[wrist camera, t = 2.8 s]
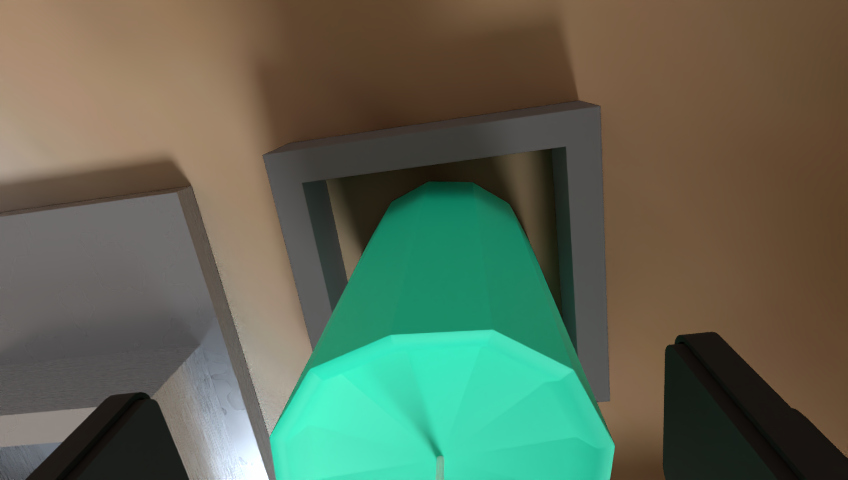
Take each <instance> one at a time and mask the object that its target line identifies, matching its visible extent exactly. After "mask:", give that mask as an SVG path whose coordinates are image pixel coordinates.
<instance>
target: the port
mask: <svg viewBox="0 0 848 480" xmlns="http://www.w3.org/2000/svg"><path fill="white" fill-rule="evenodd" d="M135 392H144V393H146V394H148V395H149V396H150V398H151V399H154V400H156V401H157V402H158V404H159V406H160V408H161V411H162V413H163V416H164V418H165V421H166V423H167V426H168V428H169V431H170V433H171V435H172V438H173V440H174V443H175V445H176V448H177V450H178V453H179V455H180V458H181V460H182V462H183V465H184V467H185V470H186V472H187V475H188V477H189V480H276V476H275V470H274V463H273V457H272V451H271V444H270V439H269V436H268V433H267V429H266V426H265V423H264V420H263V417H262V413H261V410H260V407H259V404H258V400H257V397H256V394H255V391H254V387H253V384H252V381H251V378H250V374H249V371H248V368H247V365H246V361H245V358H244V355H243V352H242V348H241V345H240V342H239V339H238V335H237V332H236V329H235V326H234V322H233V319H232V316H231V313H230V310H229V306H228V303H227V300H226V297H225V293H224V290H223V287H222V284H221V280H220V277H219V274H218V271H217V267H216V264H215V261H214V258H213V254H212V251H211V248H210V245H209V241H208V238H207V235H206V232H205V228H204V225H203V222H202V219H201V215H200V212H199V209H198V206H197V202H196V199H195V196H194V193H193V190H192V186H187V187H179V188H172V189H165V190H158V191H151V192H144V193H137V194H130V195H123V196H115V197H108V198H101V199H94V200H87V201H80V202H73V203H66V204H58V205H51V206H44V207H37V208H30V209H23V210H16V211H9V212H2V213H0V480H25V479H26V478H27V477H28V476H29V475H30V474H31V473H32V472H33V471H34V470H35V469H36V468H37V467H38V466H39V465H40V464H41V463H42V462H43V461H44V460H45V459H46V458H47V457H48V456H49V455H50V454H51V453H52V452H53V451H54V450H55V449H56V448H57V447H58V446H59V445H60V444H61V443H62V442H63V441H64V440H65V439H66V438H67V437H68V436H69V435H70V434H71V433H72V432H73V431H74V430H75V429H76V428H77V427H78V426H79V425H80V424H81V423H82V422H83V421H84V420H85V419H86V418H87V417H88V416H89V415H90V414H91V413H92V412H93V411H94V410H95V409H96V408H97V407H98V406H99V405H100V404H101V403H102V402H103V401H104V400H105V399H106V398H108V397H109V396H112V395H116V394H126V393H135Z"/></svg>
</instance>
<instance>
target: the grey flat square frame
mask: <svg viewBox="0 0 848 480" xmlns="http://www.w3.org/2000/svg"><path fill="white" fill-rule="evenodd" d="M543 149H551V150H552V165H553V180H554V195H555V211H556V226H557V241H558V256H559V272H560V287H561V302H562V317H563V323H564V325H565V328H566V330H567V332H568V335H569V337H570V340H571V342H572V344H573V347H574V349H575V352H576V354H577V356H578V359H579V361H580V363H581V366H582V368H583V371H584V373H585V375H586V378H587V380H588V383H589V385H590V387H591V390H592V392H593V394H594V397H595V399H596V402H606V401H610V387H609V357H608V326H607V296H606V265H605V235H604V204H603V174H602V144H601V113H600V106H598V105H594V104H591V103H587V102H583V101H573V102H566V103H559V104H552V105H546V106H539V107H532V108H525V109H518V110H512V111H505V112H498V113H491V114H485V115H478V116H471V117H464V118H457V119H451V120H444V121H437V122H430V123H423V124H417V125H410V126H403V127H396V128H389V129H383V130H376V131H369V132H362V133H355V134H349V135H342V136H335V137H328V138H322V139H315V140H308V141H301V142H294V143H289V144H286V145H284V146H282V147H280V148H277V149H275V150H273V151H271V152H268V153H266V154H264V155H263V159H264V162H265V166H266V170H267V174H268V178H269V182H270V186H271V190H272V194H273V198H274V202H275V206H276V209H277V213H278V217H279V221H280V225H281V229H282V233H283V237H284V241H285V245H286V249H287V253H288V256H289V260H290V264H291V268H292V272H293V276H294V280H295V284H296V288H297V292H298V296H299V300H300V303H301V307H302V311H303V315H304V319H305V323H306V327H307V331H308V335H309V339H310V343H311V346H312V350H313V351H314V349H315V347H316V345H317V343H318V341H319V339H320V337H321V335H322V333H323V331H324V329H325V327H326V325H327V323H328V321H329V319H330V317H331V315H332V313H333V311H334V309H335V307H336V305H337V303H338V301H339V299H340V297H341V295H342V294H343V292H344V290H345V288H346V286H347V284H348V281H347V277H346V272H345V268H344V263H343V258H342V254H341V249H340V245H339V240H338V236H337V231H336V226H335V222H334V217H333V213H332V208H331V203H330V199H329V194H328V190H327V185H326V179H333V178H340V177H347V176H355V175H362V174H369V173H376V172H384V171H391V170H398V169H406V168H413V167H420V166H427V165H435V164H442V163H449V162H456V161H464V160H471V159H478V158H485V157H493V156H500V155H507V154H514V153H522V152H529V151H536V150H543Z"/></svg>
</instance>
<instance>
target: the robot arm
mask: <svg viewBox="0 0 848 480" xmlns="http://www.w3.org/2000/svg"><path fill="white" fill-rule="evenodd" d="M663 470H664V475H665V479H666V480H848V458H847V457H845V456H844V455H843V454H842V453H841V452H840V451H839V450H838V449H837V448H836V447H835V446H834V445H833V444H832V443H831V442H830V441H829V440H828V439H827V438H826V437H825V436H824V435H823V434H822V433H821V432H820V431H819V430H818V429H817V428H816V427H815V426H814V425H813V424H812V423H811V422H810V421H809V420H808V419H807V418H806V417H805V416H804V415H803V414H801V413H800V412H799V411H798V410H796V409H793V408H791V407H790V406H789V405H788V404H787V403H786V402H785V401H784V400H783V399H782V398H781V397H780V396H779V395H778V394H777V393H776V392H775V391H774V390H773V389H772V388H771V387H770V386H769V385H768V384H767V383H766V382H765V381H764V380H763V379H762V378H761V377H760V376H759V375H758V374H757V373H756V372H755V371H754V370H753V369H752V368H751V367H750V366H749V365H748V364H747V363H746V362H745V361H744V360H743V359H742V358H741V357H740V356H739V355H738V354H737V353H736V352H735V351H734V350H733V349H732V348H731V347H730V346H729V345H728V344H727V343H726V342H725V341H724V340H723V339H722V338H721V337H720V336H719V335H718V334H717V333H715V332H705V333H696V334H686V335H679V336H677V338H676V340H675V344H673V345H668V346H667V347H666V350H665V385H664V435H663ZM25 480H189V477H188V475H187V472H186V470H185V467H184V465H183V462H182V460H181V458H180V455H179V453H178V450H177V448H176V445H175V443H174V440H173V438H172V435H171V433H170V431H169V428H168V426H167V423H166V421H165V418H164V416H163V413H162V411H161V408H160V406H159V404H158V402H157V401H156V400H154V399H151V398H150V396H149V395H148V394H146V393H144V392H135V393H126V394H116V395H112V396H109V397H108V398H106V399H105V400H104V401H103V402H102V403H101V404H100V405H99V406H98V407H97V408H96V409H95V410H94V411H93V412H92V413H91V414H90V415H89V416H88V417H87V418H86V419H85V420H84V421H83V422H82V423H81V424H80V425H79V426H78V427H77V428H76V429H75V430H74V431H73V432H72V433H71V434H70V435H69V436H68V437H67V438H66V439H65V440H64V441H63V442H62V443H61V444H60V445H59V446H58V447H57V448H56V449H55V450H54V451H53V452H52V453H51V454H50V455H49V456H48V457H47V458H46V459H45V460H44V461H43V462H42V463H41V464H40V465H39V466H38V467H37V468H36V469H35V470H34V471H33V472H32V473H31V474H30V475H29V476H28V477H27V478H26V479H25Z"/></svg>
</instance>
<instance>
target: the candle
mask: <svg viewBox="0 0 848 480" xmlns="http://www.w3.org/2000/svg"><path fill="white" fill-rule="evenodd" d="M269 438H270V444H271V451H272V457H273V463H274V470H275V476H276V480H610V476H611V469H612V463H613V456H614V449H615V445H614V442H613V440H612V437H611V435H610V433H609V430H608V428H607V425H606V423H605V421H604V418H603V416H602V414H601V411H600V409H599V406H598V404H597V402H596V399H595V397H594V394H593V392H592V390H591V387H590V385H589V383H588V380H587V378H586V375H585V373H584V371H583V368H582V366H581V363H580V361H579V359H578V356H577V354H576V352H575V349H574V347H573V344H572V342H571V340H570V337H569V335H568V332H567V330H566V328H565V325H564V323H563V321H562V318H561V316H560V313H559V311H558V309H557V306H556V304H555V301H554V299H553V297H552V294H551V292H550V290H549V287H548V285H547V282H546V280H545V278H544V275H543V273H542V270H541V268H540V266H539V263H538V261H537V259H536V256H535V254H534V251H533V249H532V247H531V244H530V242H529V240H528V238H527V236H526V234H525V232H524V230H523V228H522V226H521V225H520V223H519V221H518V219H517V217H516V215H515V213H514V212H513V210H512V208H511V206H510V204H509V203H507V202H505V201H504V200H502V199H500V198H498V197H497V196H495V195H493V194H492V193H490V192H488V191H487V190H485V189H483V188H482V187H480V186H478V185H476V184H475V183H473V182H434V181H428V182H427V183H425V184H423V185H421V186H419V187H418V188H416V189H414V190H412V191H410V192H408V193H407V194H405V195H403V196H401V197H399V198H398V199H396V200H394V201H392V202H391V203H390V205H389V207H388V209H387V210H386V212H385V214H384V216H383V217H382V219H381V221H380V223H379V224H378V226H377V228H376V229H375V231H374V233H373V235H372V236H371V238H370V240H369V242H368V244H367V246H366V248H365V250H364V252H363V254H362V256H361V258H360V260H359V262H358V264H357V266H356V268H355V270H354V272H353V274H352V276H351V278H350V280H349V282H348V284H347V286H346V288H345V290H344V292H343V294H342V295H341V297H340V299H339V301H338V303H337V305H336V307H335V309H334V311H333V313H332V315H331V317H330V319H329V321H328V323H327V325H326V327H325V329H324V331H323V333H322V335H321V337H320V339H319V341H318V343H317V345H316V347H315V349H314V351H313V353H312V355H311V357H310V359H309V360H308V362H307V364H306V366H305V368H304V370H303V372H302V374H301V376H300V378H299V380H298V382H297V384H296V386H295V388H294V390H293V392H292V394H291V396H290V398H289V400H288V402H287V404H286V406H285V408H284V410H283V412H282V414H281V416H280V418H279V420H278V422H277V424H276V426H275V427H274V429H273V431H272V433H271V435H270V437H269Z"/></svg>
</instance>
